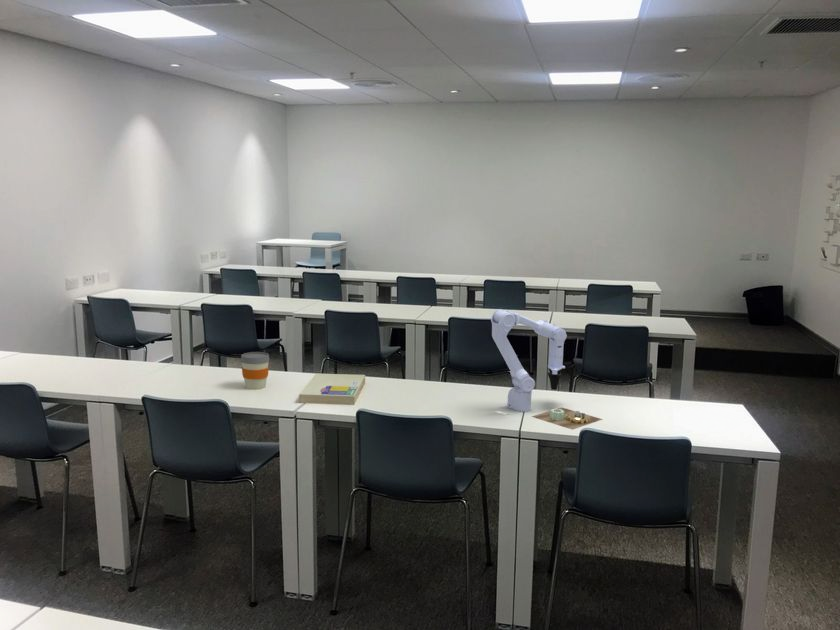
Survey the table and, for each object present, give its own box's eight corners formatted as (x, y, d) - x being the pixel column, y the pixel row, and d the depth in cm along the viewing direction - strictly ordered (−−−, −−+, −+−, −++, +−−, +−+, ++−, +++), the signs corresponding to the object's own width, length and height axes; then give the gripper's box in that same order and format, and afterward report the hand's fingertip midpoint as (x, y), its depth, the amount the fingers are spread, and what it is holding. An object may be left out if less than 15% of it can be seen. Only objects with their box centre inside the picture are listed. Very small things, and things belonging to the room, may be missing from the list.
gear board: (531, 418, 272) (531, 407, 271) (561, 409, 285) (562, 399, 284) (572, 432, 257) (573, 420, 256) (602, 421, 270) (603, 410, 269)
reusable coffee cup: (271, 383, 316) (271, 351, 314) (267, 390, 304) (266, 358, 302) (244, 383, 316) (243, 351, 313) (238, 390, 303) (238, 357, 301)
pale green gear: (546, 418, 270) (547, 410, 269) (555, 415, 274) (555, 407, 273) (558, 421, 266) (558, 413, 265) (566, 418, 270) (567, 411, 269)
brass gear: (561, 419, 268) (561, 411, 268) (574, 415, 274) (575, 407, 274) (580, 425, 262) (580, 416, 261) (593, 421, 268) (594, 412, 267)
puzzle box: (366, 384, 321) (315, 382, 322) (366, 374, 320) (315, 372, 322) (354, 406, 285) (297, 404, 287) (354, 396, 285) (297, 394, 286)
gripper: (565, 359, 274) (563, 392, 277) (566, 352, 288) (564, 383, 290) (547, 358, 276) (546, 391, 278) (549, 351, 290) (547, 382, 292)
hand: (554, 387), depth 284 cm, fingers open, 7 cm apart
